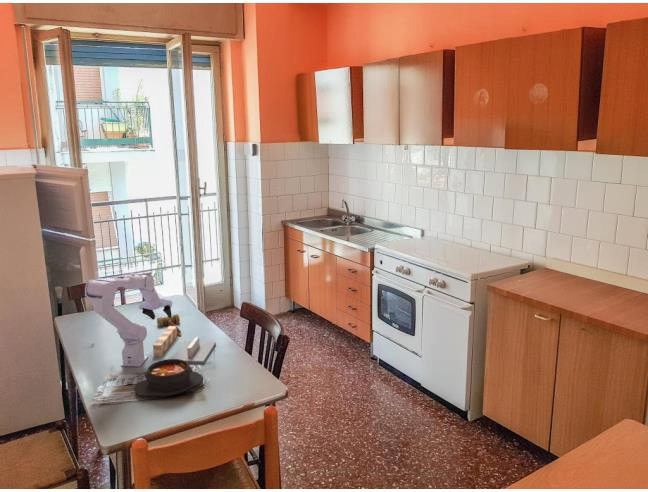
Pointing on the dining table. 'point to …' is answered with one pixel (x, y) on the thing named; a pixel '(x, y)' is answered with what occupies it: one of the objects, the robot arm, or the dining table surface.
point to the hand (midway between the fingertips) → (162, 317)
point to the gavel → (169, 322)
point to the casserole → (168, 378)
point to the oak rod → (165, 341)
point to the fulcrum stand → (194, 351)
